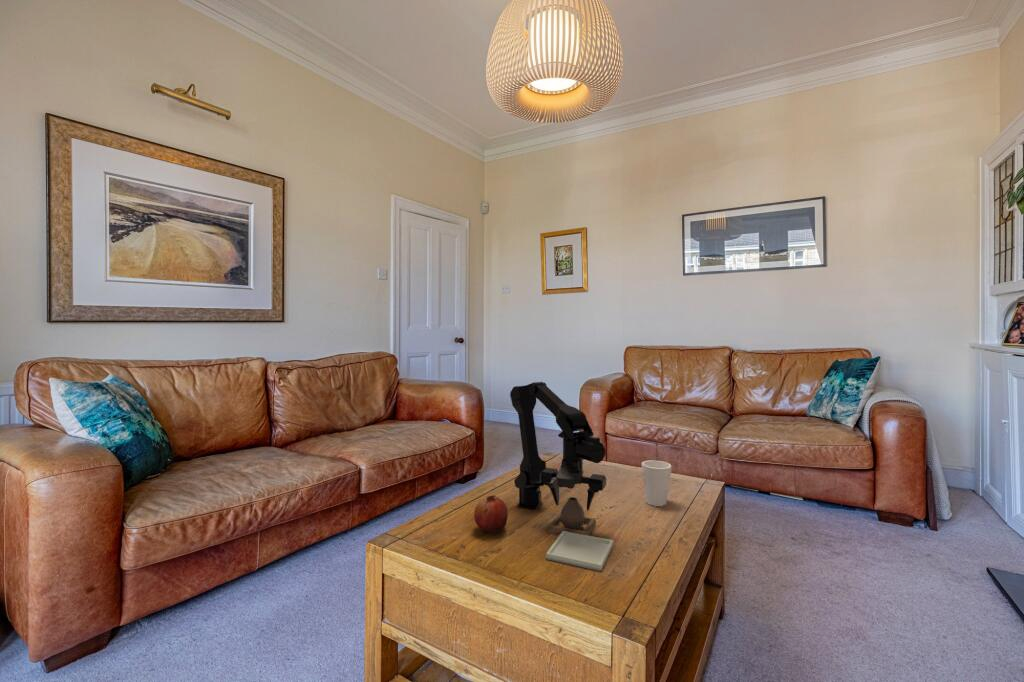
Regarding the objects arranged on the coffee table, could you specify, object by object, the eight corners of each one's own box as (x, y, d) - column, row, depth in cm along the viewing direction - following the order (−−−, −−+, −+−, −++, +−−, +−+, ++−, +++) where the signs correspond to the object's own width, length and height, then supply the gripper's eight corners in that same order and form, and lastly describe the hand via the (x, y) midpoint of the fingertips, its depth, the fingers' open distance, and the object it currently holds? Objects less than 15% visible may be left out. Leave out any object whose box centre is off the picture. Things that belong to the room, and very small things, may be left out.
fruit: (501, 541, 124) (501, 505, 123) (468, 535, 127) (468, 500, 126) (513, 525, 134) (513, 491, 133) (482, 520, 137) (482, 488, 137)
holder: (548, 532, 129) (548, 526, 129) (560, 517, 139) (560, 511, 139) (586, 539, 124) (586, 533, 124) (595, 524, 134) (595, 518, 134)
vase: (584, 534, 128) (584, 503, 127) (559, 532, 129) (559, 502, 129) (585, 524, 134) (585, 495, 134) (561, 522, 136) (562, 493, 135)
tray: (546, 559, 114) (546, 553, 114) (563, 536, 127) (563, 530, 126) (601, 571, 108) (601, 565, 108) (613, 545, 121) (613, 540, 121)
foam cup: (639, 505, 148) (640, 466, 148) (642, 496, 157) (643, 459, 157) (670, 510, 145) (670, 470, 144) (671, 500, 153) (672, 462, 153)
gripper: (532, 458, 128) (532, 512, 128) (598, 466, 120) (597, 524, 120) (546, 448, 138) (545, 499, 138) (607, 455, 130) (606, 509, 131)
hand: (572, 507), depth 132 cm, fingers open, 9 cm apart
